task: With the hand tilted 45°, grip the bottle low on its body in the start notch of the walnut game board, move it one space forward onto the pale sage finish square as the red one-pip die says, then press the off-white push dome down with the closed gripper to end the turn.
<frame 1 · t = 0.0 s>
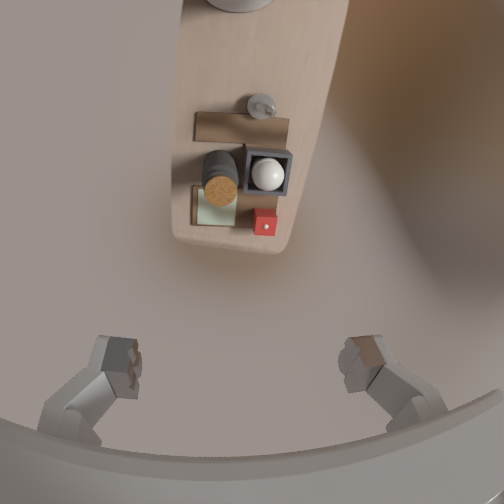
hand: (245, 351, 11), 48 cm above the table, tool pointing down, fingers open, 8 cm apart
screw: (259, 105, 49), on the table
game board: (237, 172, 56), on the table
red die: (262, 217, 61), resting on game board
bottle: (219, 164, 54), on the table
dome cap: (267, 174, 52), point 5 cm above the table, slide at 0.0 cm
dome collar: (264, 167, 55), resting on game board
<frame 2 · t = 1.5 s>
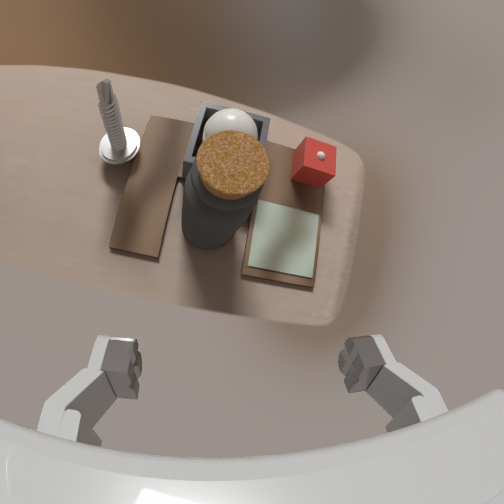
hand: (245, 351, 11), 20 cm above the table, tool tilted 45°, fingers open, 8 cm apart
screw: (122, 154, 31), on the table
game board: (227, 196, 33), on the table
red die: (306, 169, 36), resting on game board
bottle: (207, 223, 32), on the table
dome cap: (229, 136, 29), point 5 cm above the table, slide at 0.0 cm
dome collar: (223, 154, 33), resting on game board
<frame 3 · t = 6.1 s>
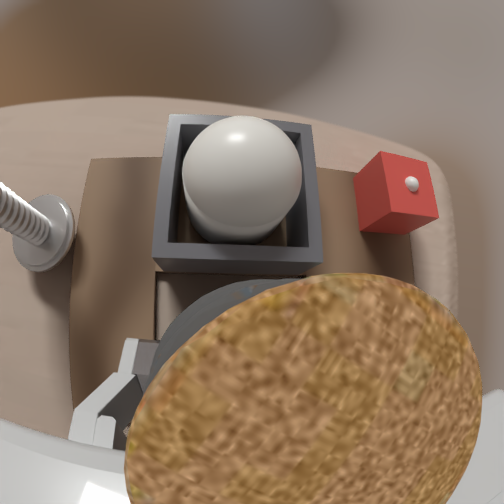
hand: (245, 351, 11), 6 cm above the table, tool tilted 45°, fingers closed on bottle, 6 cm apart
screw: (56, 241, 17), on the table
game board: (256, 290, 18), on the table
red die: (379, 206, 20), resting on game board
bottle: (230, 350, 17), on the table, touching gripper
dome cap: (241, 177, 14), point 5 cm above the table, slide at 0.0 cm
dome collar: (233, 208, 18), resting on game board
when the fingers open (8 cm above the table, at t = 11.5 s): bottle drops 1 cm, resting on game board.
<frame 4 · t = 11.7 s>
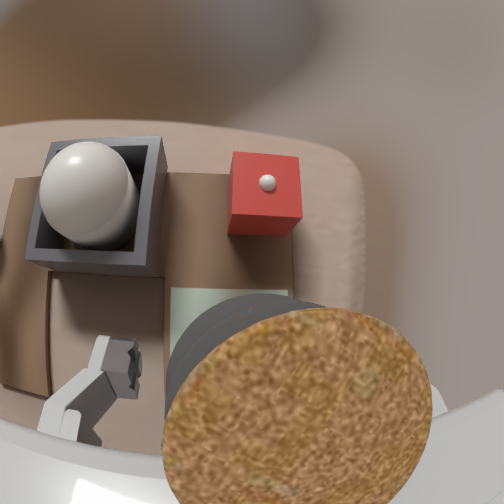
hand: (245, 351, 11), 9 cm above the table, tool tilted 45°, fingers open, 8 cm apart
game board: (122, 289, 19), on the table
red die: (256, 207, 21), resting on game board
bottle: (234, 349, 18), point 1 cm above the table, touching game board
dome cap: (87, 193, 15), point 5 cm above the table, slide at 0.0 cm
dome collar: (107, 216, 19), resting on game board
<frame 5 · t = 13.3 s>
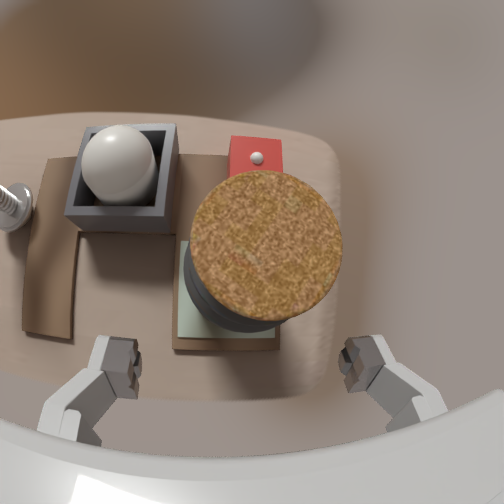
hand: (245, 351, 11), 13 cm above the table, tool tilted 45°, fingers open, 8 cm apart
screw: (23, 214, 22), on the table
game board: (141, 244, 24), on the table
red die: (249, 181, 26), resting on game board
bottle: (230, 291, 23), point 1 cm above the table, touching game board
dome cap: (118, 164, 20), point 5 cm above the table, slide at 0.0 cm
dome collar: (130, 187, 24), resting on game board
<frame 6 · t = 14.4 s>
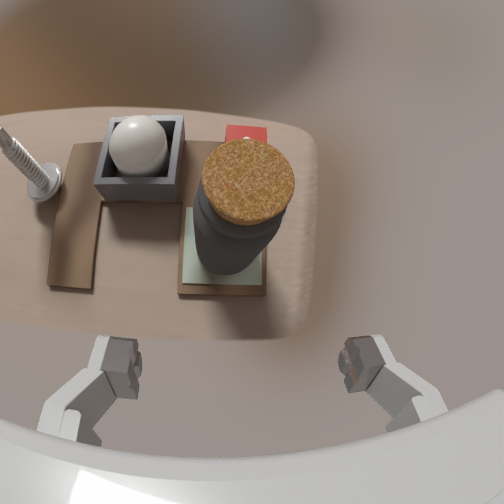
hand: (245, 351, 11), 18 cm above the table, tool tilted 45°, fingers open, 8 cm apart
screw: (51, 189, 28), on the table
game board: (153, 210, 29), on the table
red die: (241, 161, 31), resting on game board
bottle: (225, 246, 29), point 1 cm above the table, touching game board
dome cap: (138, 146, 26), point 5 cm above the table, slide at 0.0 cm
dome collar: (145, 166, 30), resting on game board
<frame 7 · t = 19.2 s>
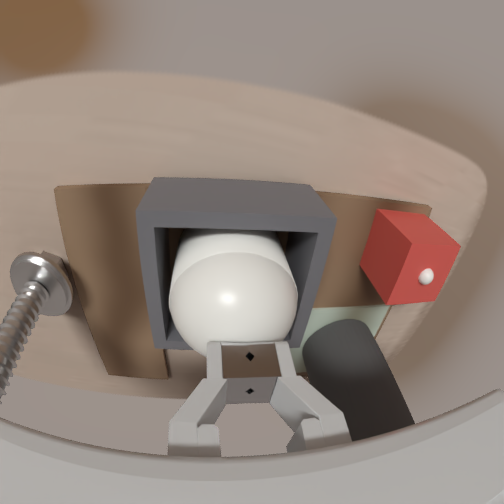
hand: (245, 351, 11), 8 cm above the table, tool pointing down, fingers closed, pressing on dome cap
screw: (52, 266, 17), on the table
game board: (245, 306, 20), on the table
red die: (393, 239, 18), resting on game board
bottle: (335, 341, 23), point 1 cm above the table, touching game board
dome cap: (232, 294, 13), point 4 cm above the table, slide at 0.2 cm, touching gripper
dome collar: (228, 247, 17), resting on game board
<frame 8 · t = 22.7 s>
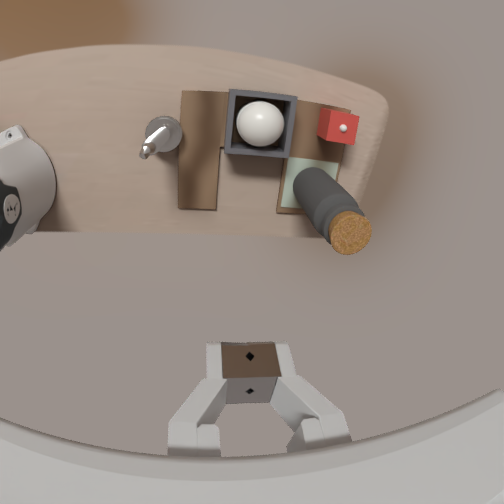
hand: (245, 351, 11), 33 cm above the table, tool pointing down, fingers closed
screw: (166, 131, 36), on the table
game board: (263, 155, 40), on the table
red die: (332, 123, 37), resting on game board
bottle: (311, 185, 42), point 1 cm above the table, touching game board
dome cap: (259, 123, 34), point 4 cm above the table, slide at 0.9 cm
dome collar: (256, 120, 36), resting on game board
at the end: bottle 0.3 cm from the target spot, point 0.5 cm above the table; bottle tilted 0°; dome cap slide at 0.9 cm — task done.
